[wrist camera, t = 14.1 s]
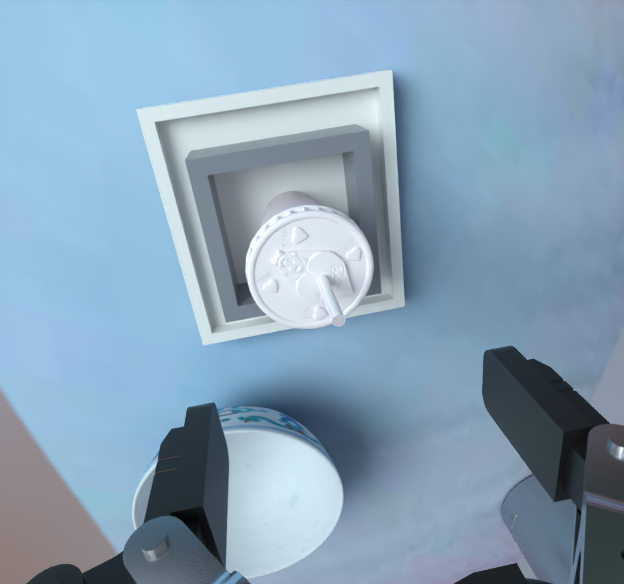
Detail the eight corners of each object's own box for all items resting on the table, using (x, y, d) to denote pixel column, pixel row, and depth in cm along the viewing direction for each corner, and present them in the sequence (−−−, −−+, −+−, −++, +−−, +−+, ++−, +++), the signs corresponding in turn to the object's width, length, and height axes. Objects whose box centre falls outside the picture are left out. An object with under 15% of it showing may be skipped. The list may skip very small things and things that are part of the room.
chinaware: (165, 350, 36) (147, 417, 29) (347, 378, 39) (370, 443, 32) (139, 492, 41) (120, 576, 34) (301, 505, 45) (312, 583, 38)
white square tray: (381, 70, 29) (406, 69, 25) (395, 294, 36) (416, 322, 32) (143, 106, 28) (126, 112, 24) (205, 330, 35) (200, 365, 31)
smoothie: (310, 276, 33) (353, 398, 21) (227, 239, 31) (220, 350, 19) (354, 196, 31) (432, 280, 19) (269, 151, 29) (293, 212, 17)
